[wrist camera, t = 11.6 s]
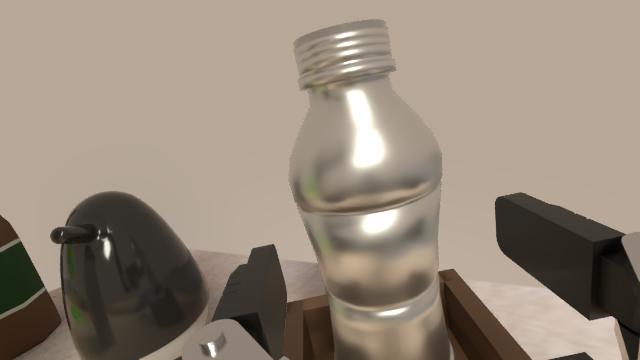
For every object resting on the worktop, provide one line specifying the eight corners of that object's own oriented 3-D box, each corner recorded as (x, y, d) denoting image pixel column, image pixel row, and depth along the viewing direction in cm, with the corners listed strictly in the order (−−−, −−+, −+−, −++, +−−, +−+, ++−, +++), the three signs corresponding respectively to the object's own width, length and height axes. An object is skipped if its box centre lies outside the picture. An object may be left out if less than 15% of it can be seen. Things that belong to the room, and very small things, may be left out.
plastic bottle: (329, 387, 19) (249, 62, 14) (422, 349, 21) (380, 39, 15) (371, 513, 13) (257, 24, 8) (498, 447, 15) (472, -9, 9)
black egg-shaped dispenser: (66, 425, 22) (-43, 239, 18) (133, 324, 32) (72, 190, 28) (207, 386, 23) (132, 199, 19) (229, 299, 33) (183, 165, 29)
